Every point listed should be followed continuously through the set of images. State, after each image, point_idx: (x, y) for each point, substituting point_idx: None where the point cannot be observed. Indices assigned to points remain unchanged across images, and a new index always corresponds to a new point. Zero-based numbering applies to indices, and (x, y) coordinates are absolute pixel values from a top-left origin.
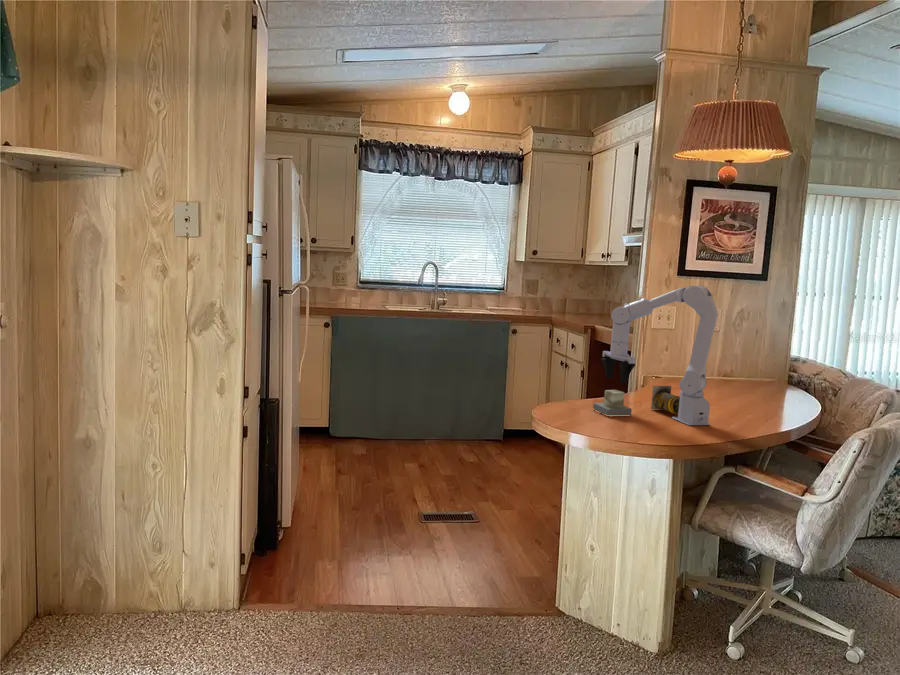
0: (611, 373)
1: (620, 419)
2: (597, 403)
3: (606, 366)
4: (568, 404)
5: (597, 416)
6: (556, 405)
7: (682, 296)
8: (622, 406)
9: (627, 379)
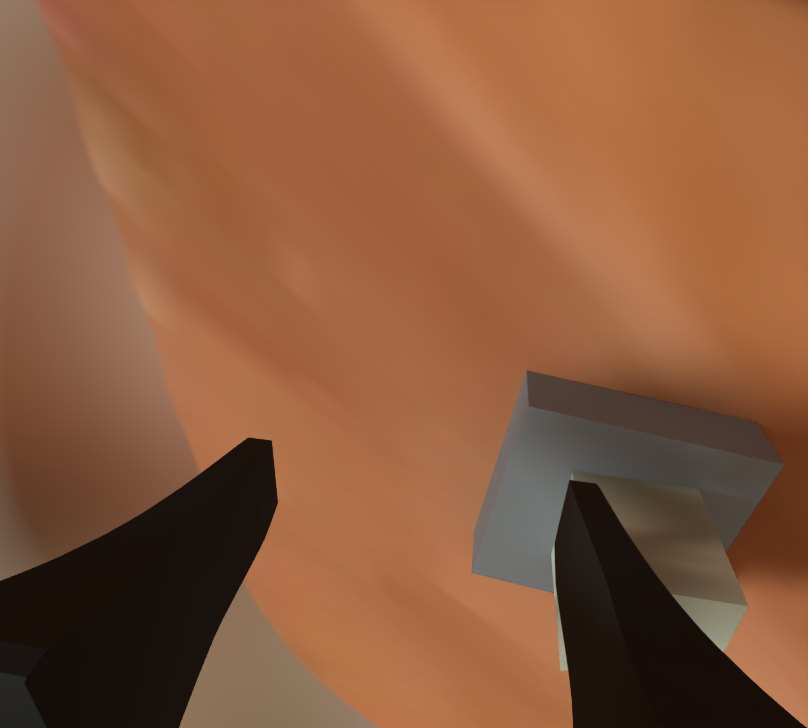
0: (240, 502)
1: (765, 550)
2: (493, 559)
3: (192, 677)
4: (289, 548)
5: None
6: (302, 616)
7: None
8: (697, 500)
9: (617, 519)
